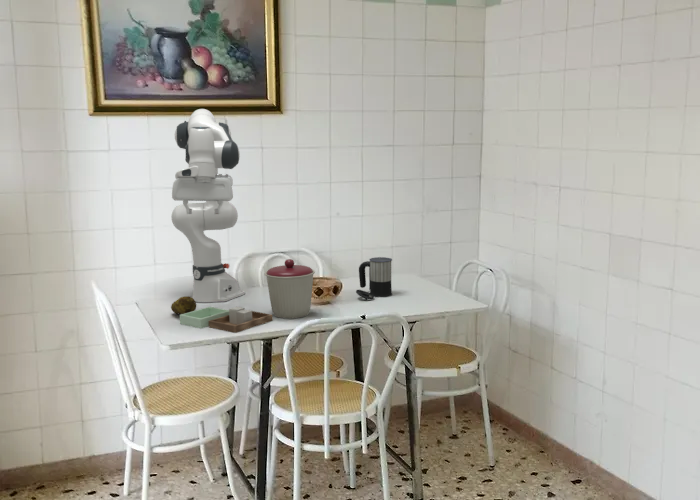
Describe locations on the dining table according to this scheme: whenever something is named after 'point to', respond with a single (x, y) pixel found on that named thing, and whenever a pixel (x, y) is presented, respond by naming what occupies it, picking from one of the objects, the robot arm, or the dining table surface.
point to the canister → (290, 289)
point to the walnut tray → (225, 324)
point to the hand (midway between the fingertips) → (203, 214)
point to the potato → (184, 305)
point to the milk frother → (376, 278)
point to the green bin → (202, 316)
